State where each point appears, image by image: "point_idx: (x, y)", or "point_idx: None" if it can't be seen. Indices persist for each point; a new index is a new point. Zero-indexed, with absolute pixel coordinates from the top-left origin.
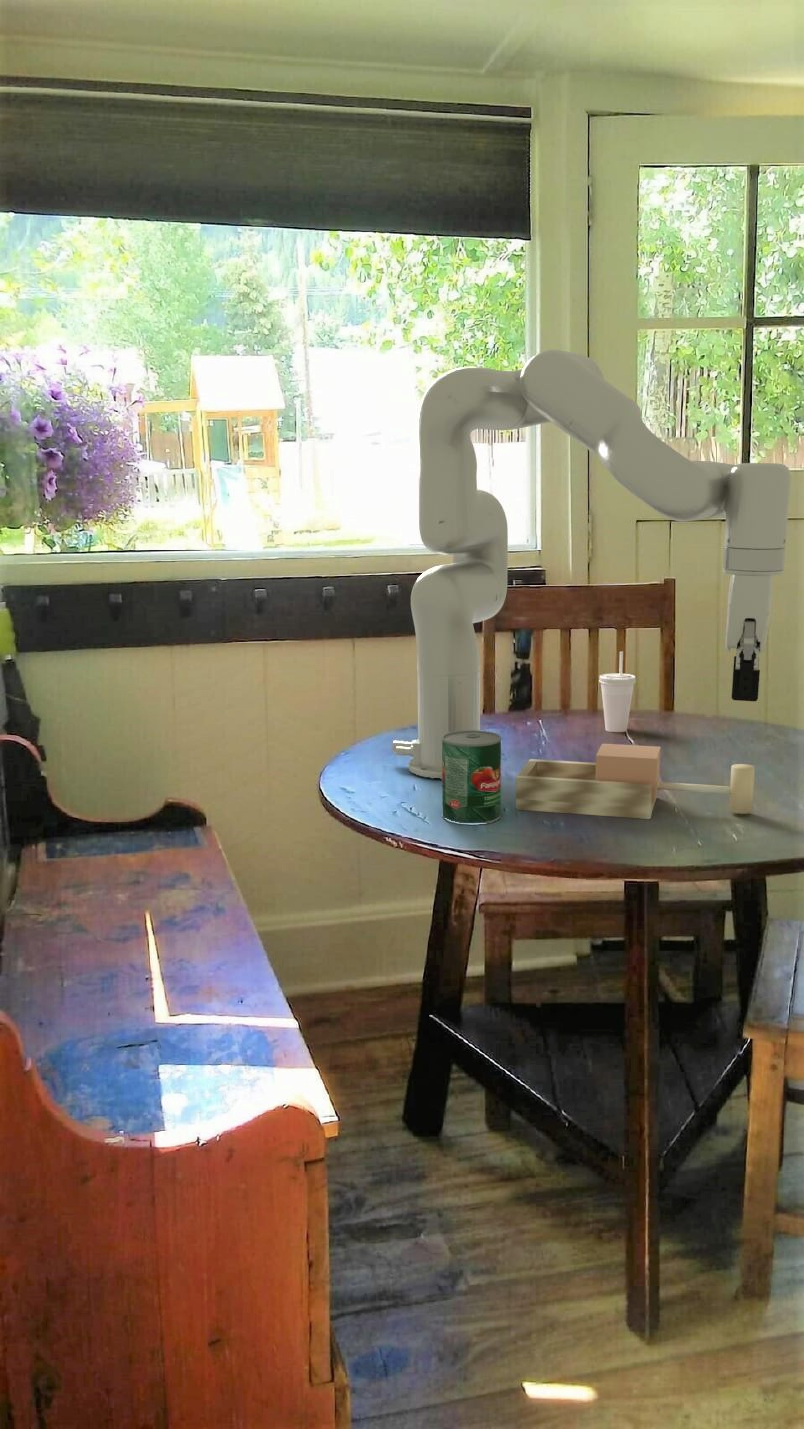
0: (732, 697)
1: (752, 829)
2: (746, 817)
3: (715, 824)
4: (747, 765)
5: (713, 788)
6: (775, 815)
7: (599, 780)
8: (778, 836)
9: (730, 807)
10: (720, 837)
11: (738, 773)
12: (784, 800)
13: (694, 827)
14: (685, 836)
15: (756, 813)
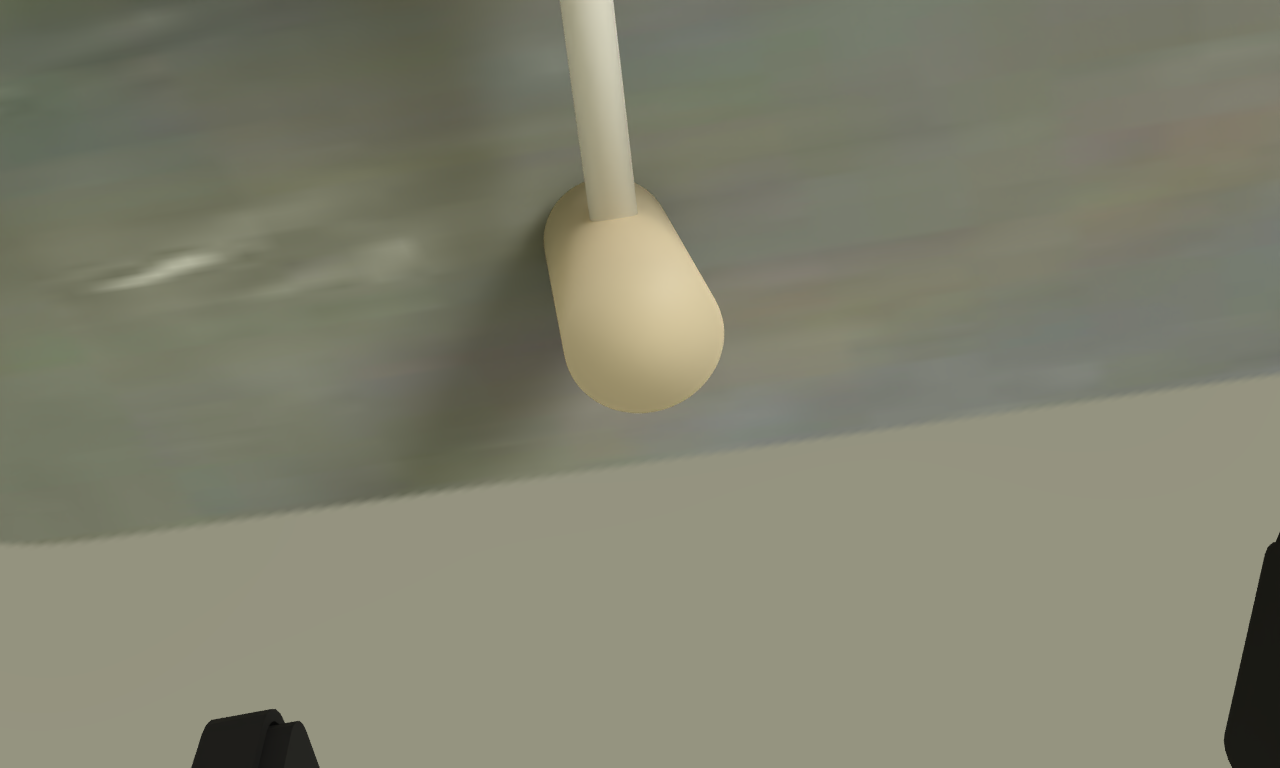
0: (205, 740)
1: (348, 331)
2: None
3: (345, 136)
4: (695, 360)
5: (576, 112)
6: None
7: None
8: (292, 455)
9: (573, 194)
10: (110, 204)
11: (564, 313)
12: (925, 390)
13: (221, 28)
14: (4, 7)
15: None
